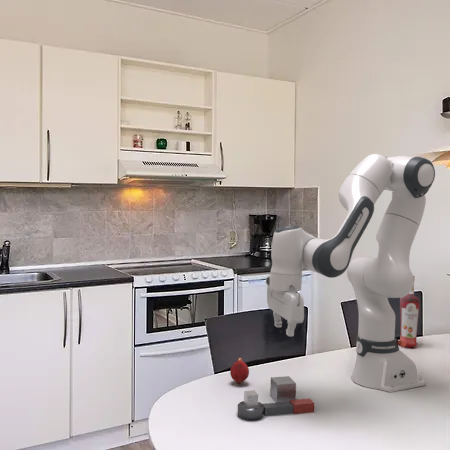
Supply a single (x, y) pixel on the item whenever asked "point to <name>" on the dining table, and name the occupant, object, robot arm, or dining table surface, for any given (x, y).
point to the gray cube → (282, 389)
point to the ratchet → (270, 407)
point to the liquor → (409, 318)
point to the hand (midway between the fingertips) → (283, 331)
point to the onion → (239, 371)
